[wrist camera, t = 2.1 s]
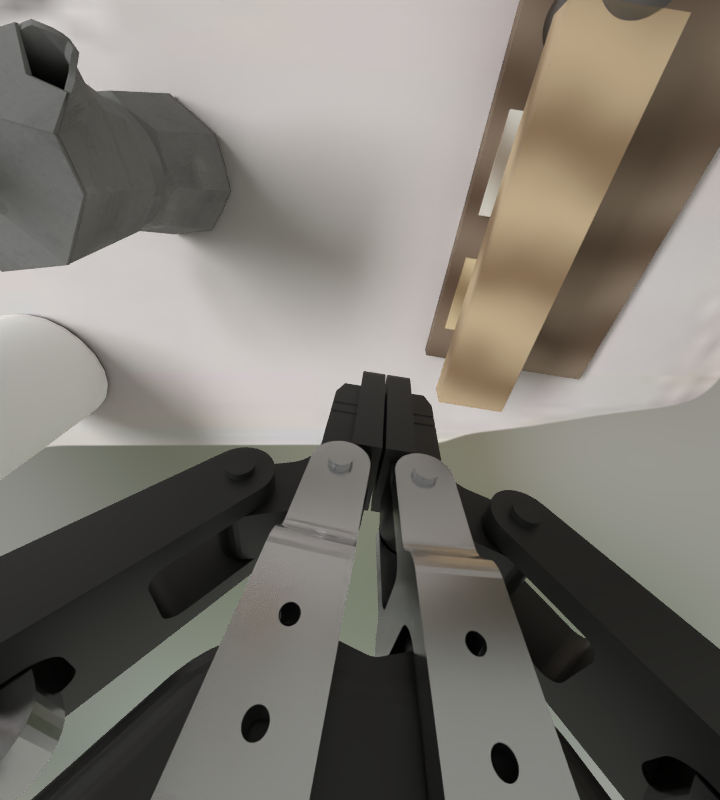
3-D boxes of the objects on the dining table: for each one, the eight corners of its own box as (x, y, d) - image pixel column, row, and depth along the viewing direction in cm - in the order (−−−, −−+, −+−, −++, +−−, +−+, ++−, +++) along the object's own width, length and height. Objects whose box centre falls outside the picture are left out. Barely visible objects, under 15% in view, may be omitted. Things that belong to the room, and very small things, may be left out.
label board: (526, -26, 18) (578, -109, 13) (782, 15, 18) (932, -52, 13) (425, 349, 32) (431, 380, 27) (573, 373, 32) (608, 409, 27)
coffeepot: (190, 35, 21) (-302, -334, 6) (275, 186, 25) (105, 184, 10) (58, 171, 26) (-390, 150, 11) (147, 278, 30) (-91, 366, 15)
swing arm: (593, -113, 13) (623, -157, 11) (714, -93, 13) (760, -134, 11) (436, 388, 27) (438, 401, 25) (494, 398, 27) (501, 411, 25)
